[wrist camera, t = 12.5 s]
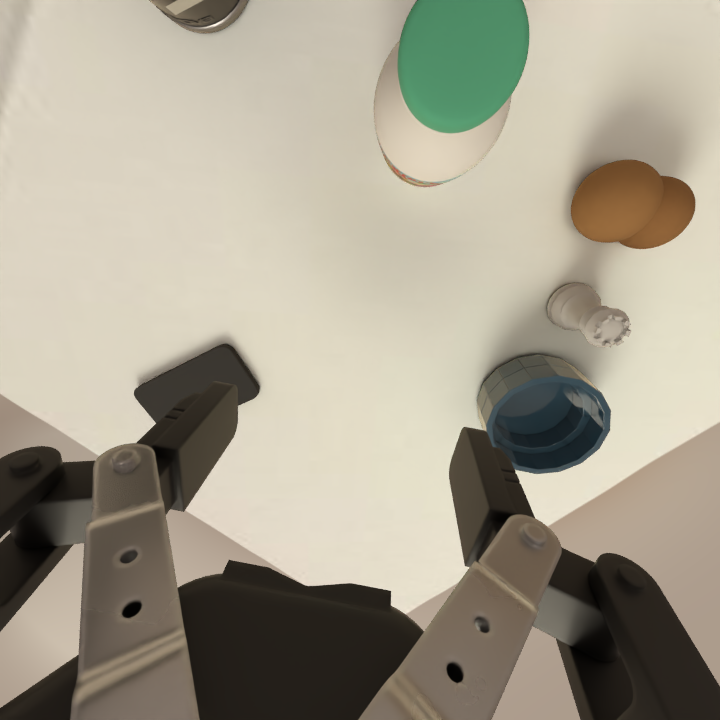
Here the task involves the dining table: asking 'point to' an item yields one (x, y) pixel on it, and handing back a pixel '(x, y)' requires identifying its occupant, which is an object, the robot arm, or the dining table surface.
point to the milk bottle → (449, 86)
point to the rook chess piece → (587, 315)
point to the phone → (196, 381)
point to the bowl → (543, 414)
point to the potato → (632, 205)
